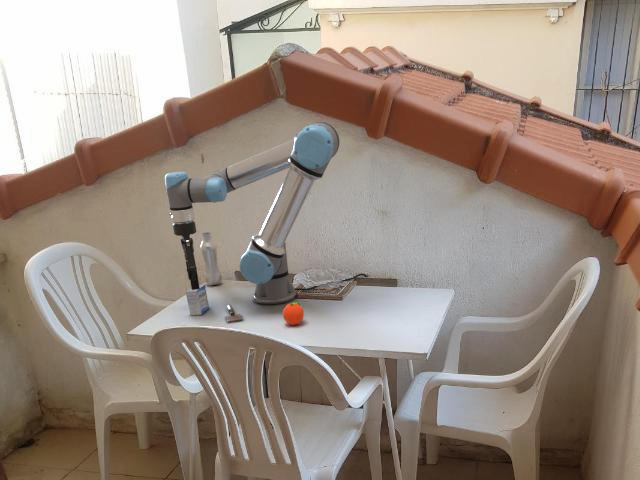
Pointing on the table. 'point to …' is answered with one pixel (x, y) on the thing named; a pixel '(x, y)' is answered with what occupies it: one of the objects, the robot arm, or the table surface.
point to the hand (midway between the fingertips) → (194, 284)
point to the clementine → (293, 313)
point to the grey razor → (233, 315)
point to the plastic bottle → (210, 260)
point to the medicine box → (197, 300)
